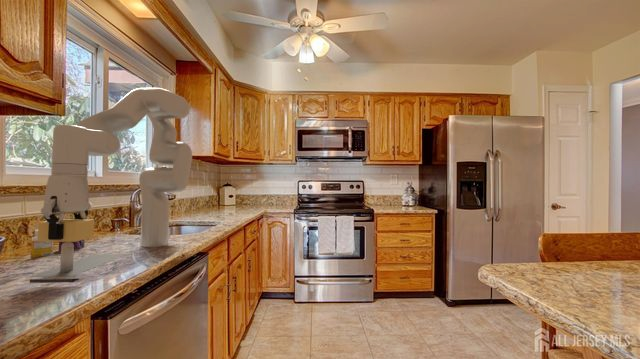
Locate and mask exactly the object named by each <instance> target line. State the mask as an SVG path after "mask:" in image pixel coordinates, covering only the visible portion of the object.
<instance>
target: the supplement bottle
mask: <svg viewBox="0 0 640 359" xmlns="http://www.w3.org/2000/svg"><path fill="white" fill-rule="evenodd" d="M30 241H31V243H30V259H34V258H35V259H36V258H39V257H45V256H51V255H53V254H54V246H55V242H38V228H37V229H34V236H32V237H31V240H30Z"/></svg>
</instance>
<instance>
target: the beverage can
mask: <svg viewBox="0 0 640 359" xmlns="http://www.w3.org/2000/svg"><path fill="white" fill-rule="evenodd" d="M66 219H73V217H72V218H71V217H70V218H69V217H68V218H66ZM85 240H86V239H84V240H80V241H76V242H72V243H73V244H74V250H79V249H83V248H84V247H85V242H86V241H85ZM63 243H65V242H58V252H59V251H60V252H61V246H62V244H63Z"/></svg>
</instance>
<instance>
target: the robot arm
mask: <svg viewBox="0 0 640 359" xmlns="http://www.w3.org/2000/svg"><path fill="white" fill-rule="evenodd" d="M189 114H190V104H189V102H188V100H186V98H185V97H183V96H181V95H179V94H177V93H175V92H172V91H170V90H167V89H165V88H161V87H139V88H134V89H132V90H130V92H128V93H127V94H126V95H125V96H123V97H122V98H121V99H120V100H119V101H118V102H117V103H115V104H114V105H113V106H111V107H110V108H107V109H105V110H102V111H100V112H98V113H95V114H93V115H90V116H88V117H86V118H84V119H82V120H80V121H79V122H77V123H76V124H75V125H71V124H58V125H55V126H54V128H53V129H52V130H53V132H52V147H51V148H52V152H51V153H52V154H51V169H50V170H51V172H50V173H51V174H50V175H49V176H48V178H47V183H46V185H45V191H44V198H43V207H42V208H41V209H40V213H41V214H42V215H43V217H44V219H45V221H47V224H49V229H48V239H49V240H61V239H63V229H64V224H61V223H62V221H63V219H65V216H66V214H71V216H72V218H73V219H87V216H88V215H89V212H90V210H91V208H92V205H91V204H90V203H89V199H90V198H89V197H90V195H89V194H90V192H89V191H90V190H89V182H88V173H89V171H88V170H89V156H90V157H91V156H92V157H93V156H94V157H107V156H112V155H114V154H115V153H117V152H118V151H119V149H120V147H121V146H120V145H121V144H120V140H119V138H118V137H117V135H115V134H116V133H121V132H124V131H128V130H130V129H133V128H135V127H136V126H137V125H138V124H139V123H140V122H142V120H143V119H144V118H145V117H146V116H148V118H149V120H150V122H151V125H152V128H153V134H152V137H151V138H152V139H151V144H150V148H149V154H148V155H149V157H148V159H149V161H150V162H151V164H153V165H157V166H171V167H156V166H155V167H148V168H145V169H143V171H141V173H140V175H139V176H138V177H139V178H138V182H139V187H140V192H141V216H140V243H139V244H138V245H137V246H138V247H139V246H140V247H142V248H155V247H156V248H157V247H164V246H166V247H167V246H168V247H169V246H171V247H172V246H173V243H172V242H169V239H170V238H171V235H170V234H169V231H170V230H169V229H170V225H169V224H170V200H169V198H168V196H167V195H166V193H181V192H184V191H185V189H187V187H188V184H189V181H190V175H191V174H190V173H191V168H192V162H193V152H192V148H191V146H190V145H189V144H188V143H186V142H183V141H177V137H178V134H177V133H178V132H177V129H176V127H175V126H174V124H173V123H172V122H171V119H184V118H186V117H187V116H188V115H189Z"/></svg>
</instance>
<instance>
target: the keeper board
mask: <svg viewBox="0 0 640 359" xmlns="http://www.w3.org/2000/svg"><path fill="white" fill-rule="evenodd" d="M74 250H75V249H74V244H73V243H72V242H65V243H63V244H62V246H61V250H60V264H59V265H60V266H56V267H53V268H50V269H48V270H44V271H42V272H39V273H36V274H34V275H31V276H30V279H29V283H30V284H31V283H34V284H37V283H38V284H39V283H41V284H44V283H74V282H76V281H79V280H80V278H64V277H75V276H78V275H80V274H83V273H84V272H87V271H90V270H91V269H93V268H96V267H99V266H101V265H104V264H106V263H108V262H111V261H113V260H115V259H119V258H121V257H123V256H124V255H125V256H126V253H98V254H97V253H94V254H91V255H88V256H85V257H83V258H82V257H81V258H80V259H77V260H74V252H75V251H74ZM43 277H44V278H43ZM47 277H51V278H50V279H49V278H48V279H47ZM54 277H55V278H54ZM56 277H57V278H56ZM58 277H60V278H59V279H58ZM61 277H63V278H61ZM31 278H35V279H31ZM36 278H37V279H36ZM38 278H39V279H38ZM42 278H43V279H42Z"/></svg>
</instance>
